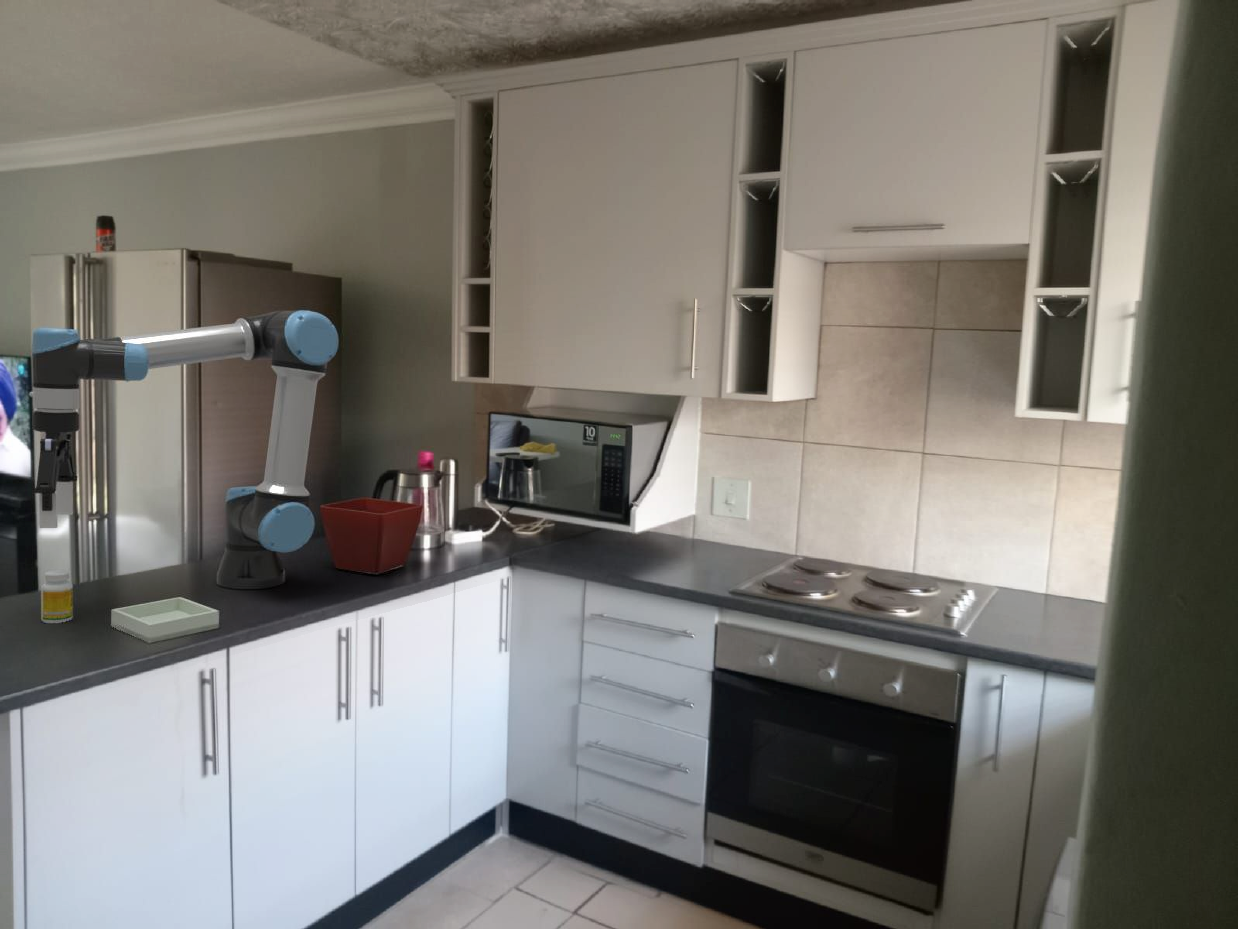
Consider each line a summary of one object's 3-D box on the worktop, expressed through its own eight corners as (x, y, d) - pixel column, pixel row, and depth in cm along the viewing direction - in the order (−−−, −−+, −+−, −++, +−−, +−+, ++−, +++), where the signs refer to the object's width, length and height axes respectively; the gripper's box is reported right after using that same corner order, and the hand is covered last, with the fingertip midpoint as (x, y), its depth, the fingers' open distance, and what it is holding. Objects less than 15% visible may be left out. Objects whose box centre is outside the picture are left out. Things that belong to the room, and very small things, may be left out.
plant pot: (361, 557, 251) (364, 496, 249) (422, 566, 245) (424, 504, 243) (316, 570, 234) (318, 505, 232) (379, 581, 227) (382, 514, 225)
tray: (180, 613, 191) (180, 596, 190) (218, 628, 183) (218, 611, 183) (111, 627, 179) (111, 609, 179) (149, 643, 172) (149, 625, 171)
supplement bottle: (37, 619, 181) (37, 571, 180) (68, 614, 185) (67, 568, 184) (46, 625, 178) (45, 577, 177) (76, 621, 182) (76, 573, 181)
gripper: (48, 404, 184) (49, 509, 186) (15, 414, 161) (16, 533, 163) (91, 406, 186) (91, 509, 189) (64, 416, 163) (65, 533, 166)
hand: (56, 521), depth 176 cm, fingers open, 13 cm apart
